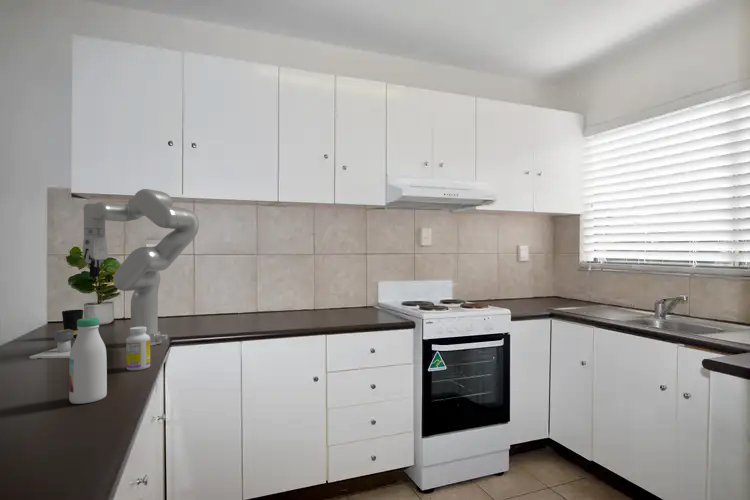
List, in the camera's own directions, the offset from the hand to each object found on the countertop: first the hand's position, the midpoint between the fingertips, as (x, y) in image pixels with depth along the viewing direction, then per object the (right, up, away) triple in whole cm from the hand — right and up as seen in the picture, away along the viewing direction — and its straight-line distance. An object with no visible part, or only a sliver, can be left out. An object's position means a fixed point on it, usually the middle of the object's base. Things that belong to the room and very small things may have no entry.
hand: (94, 276), depth 176 cm
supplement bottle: (+43, -27, -43) cm, 66 cm away
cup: (-14, -28, +7) cm, 32 cm away
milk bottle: (+46, -26, -72) cm, 89 cm away
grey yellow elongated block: (+4, -22, -19) cm, 30 cm away
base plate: (+3, -27, -22) cm, 35 cm away
